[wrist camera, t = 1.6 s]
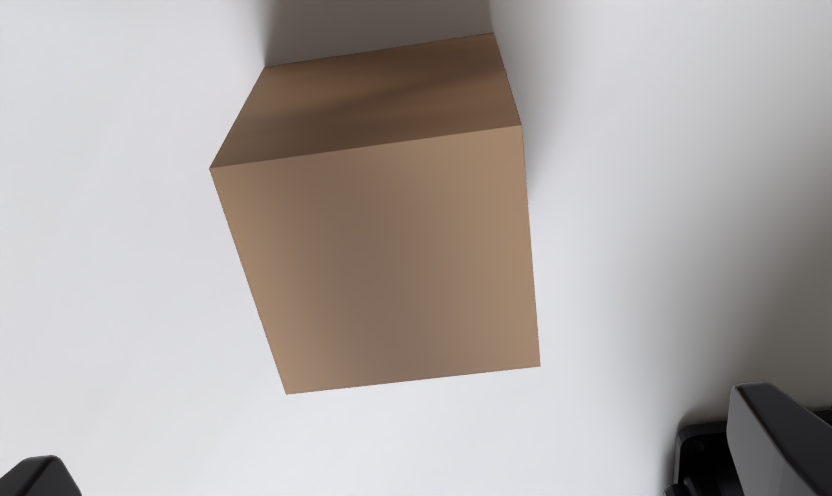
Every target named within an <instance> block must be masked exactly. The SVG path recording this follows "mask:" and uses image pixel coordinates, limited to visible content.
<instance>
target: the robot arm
mask: <svg viewBox="0 0 832 496" xmlns="http://www.w3.org/2000/svg"><path fill="white" fill-rule="evenodd" d="M694 441H695V442H694ZM0 496H82V494H81V492H80V490H79V488H78V486H77V485H76V483H75V481H74V480H73V478H72V477H71V475H70V473H69V472H68V470H67V468H66V467H65V465H64V463H63V462H62V460H61V459H60V458H58V457H57V456H53V455H48V456H38V457H30V458H27V459H24V460H22V461H21V462H20V463H18V464H17V465H16V466H15V467H14V468H12V469H11V470H10V471H9V472H8V473H6V474H5V475H4V476H3V477H2V478H0ZM664 496H832V410H830V411H820V412H811V411H809V410H808V409H807V408H805V407H804V406H802V405H801V404H800V403H798V402H797V401H795V400H794V399H793V398H791V397H790V396H788V395H787V394H786V393H784V392H783V391H781V390H780V389H779V388H777V387H776V386H774V385H773V384H771V383H769V382H767V381H757V382H747V383H738V384H736V385H734V386H733V388H732V390H731V395H730V404H729V413H728V421H723V422H713V423H703V424H694V425H690V426H687V427H685V428H683V429H681V430H680V431H679V432H678V434H677V437H676V446H675V462H674V478H673V484H669V485H668V486H667V488H666V489H665V491H664Z"/></svg>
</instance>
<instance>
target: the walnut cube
mask: <svg viewBox="0 0 832 496" xmlns="http://www.w3.org/2000/svg"><path fill="white" fill-rule="evenodd" d="M209 170H210V172H211V175H212V178H213V181H214V184H215V187H216V190H217V193H218V196H219V199H220V202H221V205H222V208H223V211H224V214H225V217H226V220H227V222H228V225H229V228H230V231H231V234H232V237H233V240H234V243H235V246H236V249H237V252H238V255H239V258H240V261H241V264H242V267H243V270H244V272H245V275H246V278H247V281H248V284H249V287H250V290H251V293H252V296H253V299H254V302H255V305H256V308H257V311H258V314H259V317H260V319H261V322H262V325H263V328H264V331H265V334H266V337H267V340H268V343H269V346H270V349H271V352H272V355H273V358H274V361H275V364H276V367H277V369H278V372H279V375H280V378H281V381H282V384H283V387H284V390H285V393H286V395H287V394H296V393H305V392H314V391H323V390H332V389H341V388H350V387H359V386H368V385H377V384H386V383H395V382H404V381H413V380H422V379H431V378H440V377H449V376H458V375H467V374H476V373H485V372H494V371H503V370H512V369H521V368H530V367H539V366H540V353H539V341H538V328H537V315H536V302H535V290H534V277H533V264H532V251H531V238H530V226H529V213H528V200H527V187H526V175H525V162H524V149H523V136H522V125H521V121H520V118H519V115H518V111H517V108H516V105H515V102H514V98H513V95H512V92H511V88H510V85H509V82H508V78H507V75H506V72H505V69H504V65H503V62H502V59H501V55H500V52H499V49H498V45H497V42H496V39H495V36H494V33H489V34H482V35H476V36H469V37H462V38H456V39H449V40H442V41H436V42H429V43H423V44H416V45H409V46H403V47H396V48H389V49H383V50H376V51H369V52H363V53H356V54H350V55H343V56H336V57H330V58H323V59H316V60H310V61H303V62H296V63H290V64H283V65H277V66H270V67H264V69H263V71H262V72H261V74H260V76H259V78H258V80H257V82H256V83H255V85H254V87H253V89H252V91H251V93H250V94H249V96H248V98H247V100H246V102H245V104H244V106H243V107H242V109H241V111H240V113H239V115H238V117H237V118H236V120H235V122H234V124H233V126H232V128H231V129H230V131H229V133H228V135H227V137H226V139H225V140H224V142H223V144H222V146H221V148H220V150H219V151H218V153H217V155H216V157H215V159H214V161H213V162H212V164H211V166H210V168H209Z"/></svg>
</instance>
